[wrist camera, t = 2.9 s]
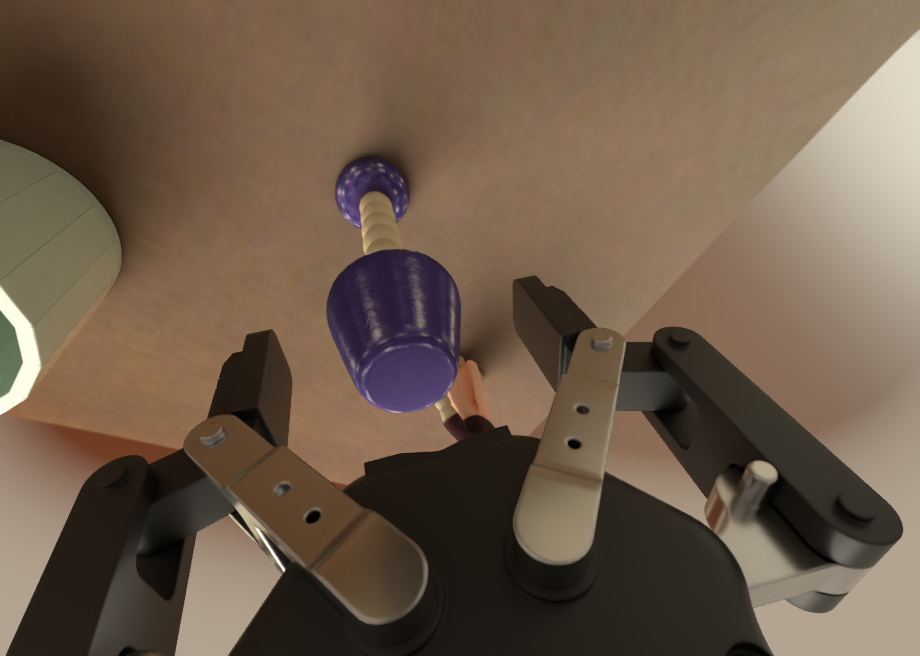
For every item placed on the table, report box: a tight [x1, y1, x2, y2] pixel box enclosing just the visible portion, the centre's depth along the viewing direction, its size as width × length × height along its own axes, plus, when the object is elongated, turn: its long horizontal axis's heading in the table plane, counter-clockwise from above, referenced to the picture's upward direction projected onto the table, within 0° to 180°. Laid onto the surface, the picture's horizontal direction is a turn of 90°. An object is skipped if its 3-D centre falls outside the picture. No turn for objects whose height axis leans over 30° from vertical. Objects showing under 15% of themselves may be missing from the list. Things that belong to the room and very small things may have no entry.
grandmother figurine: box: [435, 355, 494, 442], centre depth 30 cm, size 8×4×13 cm, turn 49°
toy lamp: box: [326, 157, 461, 413], centre depth 19 cm, size 5×5×17 cm
